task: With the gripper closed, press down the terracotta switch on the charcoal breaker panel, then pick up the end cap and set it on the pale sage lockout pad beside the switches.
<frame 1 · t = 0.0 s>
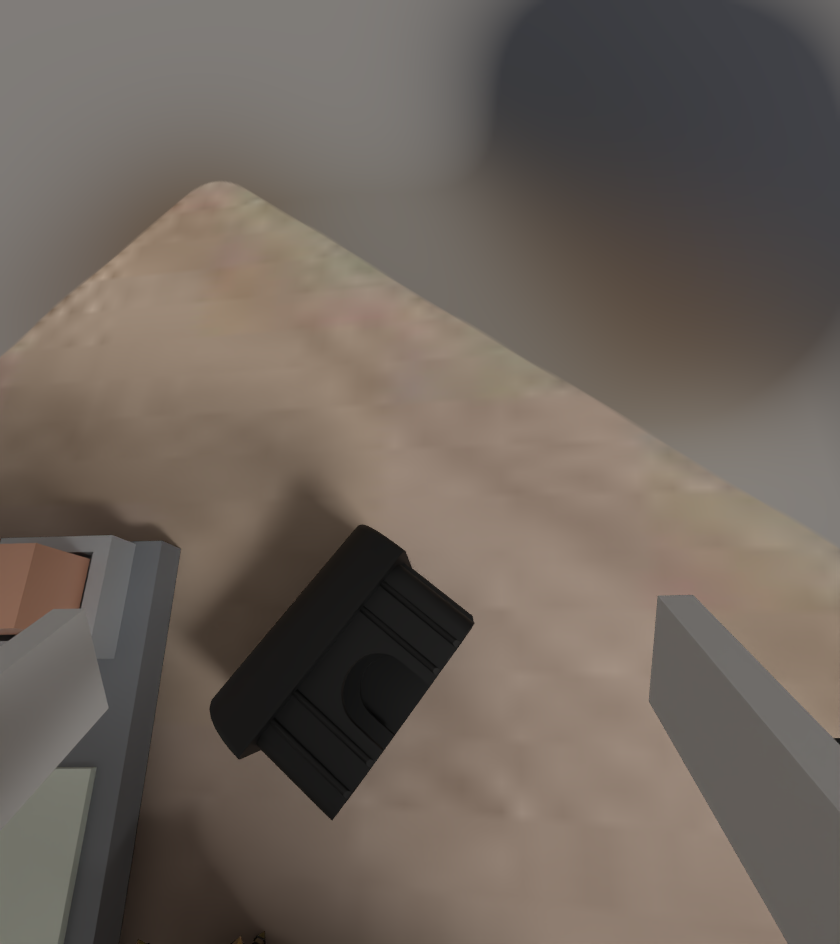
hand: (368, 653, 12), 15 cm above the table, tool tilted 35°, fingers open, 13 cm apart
end cap: (362, 659, 26), on the table
terracotta switch: (18, 591, 23), point 5 cm above the table, slide at 0.0 cm
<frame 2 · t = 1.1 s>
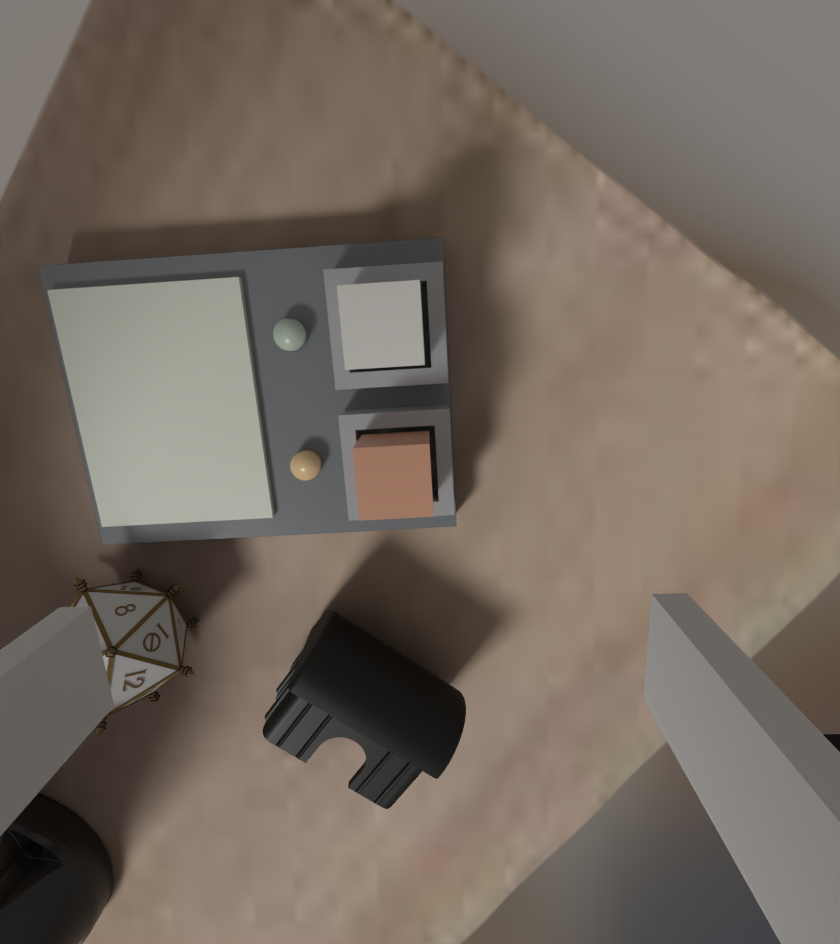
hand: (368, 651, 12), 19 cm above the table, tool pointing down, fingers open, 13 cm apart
breaker panel: (270, 399, 30), on the table
end cap: (373, 663, 35), on the table
game die: (156, 608, 34), on the table
terracotta switch: (395, 473, 25), point 5 cm above the table, slide at 0.0 cm
off-white switch: (384, 326, 23), point 5 cm above the table, slide at 0.0 cm
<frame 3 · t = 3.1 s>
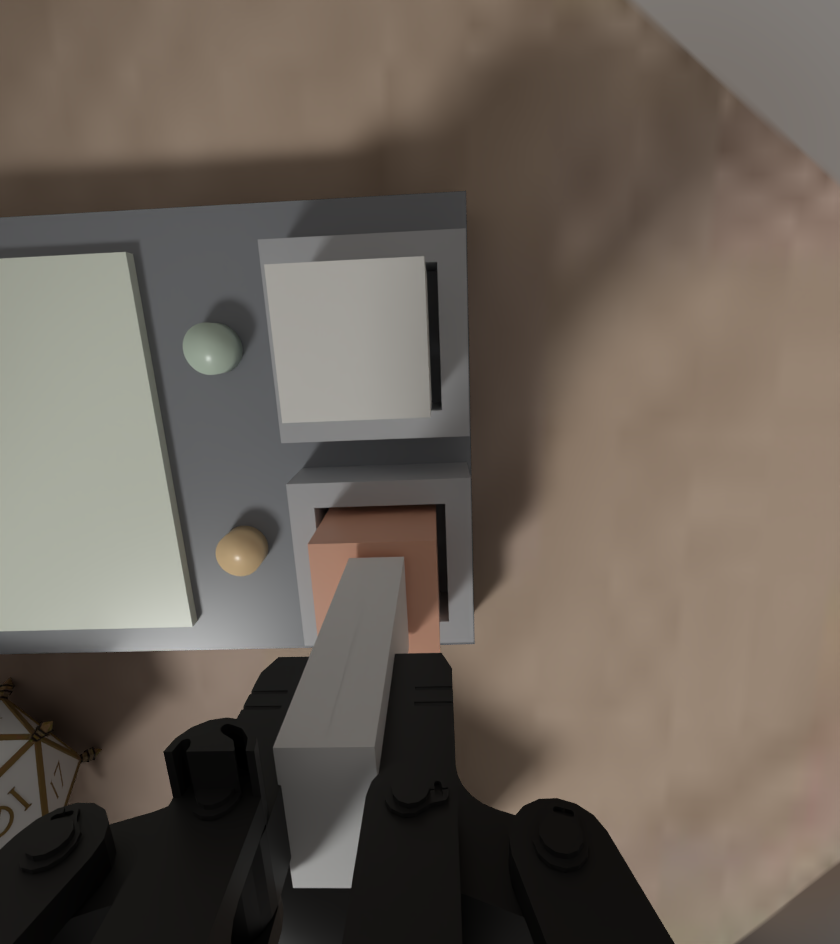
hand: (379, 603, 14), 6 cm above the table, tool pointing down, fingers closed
breaker panel: (194, 443, 20), on the table
end cap: (349, 810, 24), on the table
game die: (41, 729, 24), on the table
terracotta switch: (381, 572, 16), point 4 cm above the table, slide at 1.0 cm, touching gripper
off-white switch: (360, 342, 13), point 5 cm above the table, slide at 0.0 cm
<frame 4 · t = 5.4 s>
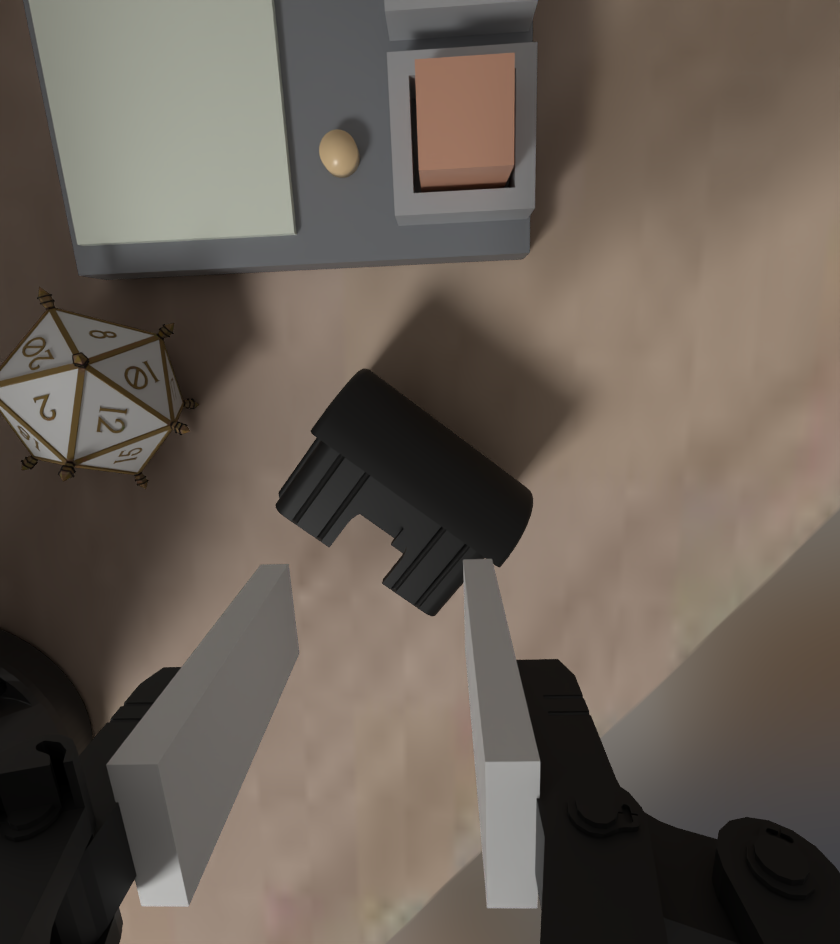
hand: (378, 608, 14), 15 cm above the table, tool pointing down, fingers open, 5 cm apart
breaker panel: (293, 89, 23), on the table
end cap: (410, 469, 28), on the table
game die: (147, 387, 27), on the table
terracotta switch: (463, 132, 20), point 4 cm above the table, slide at 1.4 cm
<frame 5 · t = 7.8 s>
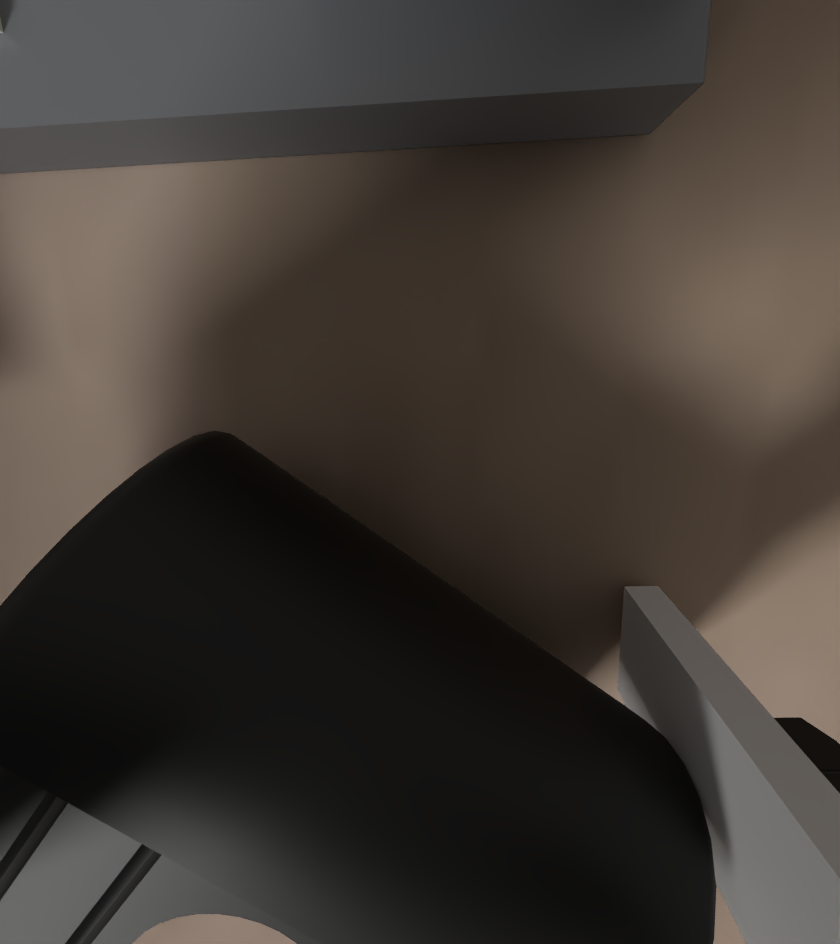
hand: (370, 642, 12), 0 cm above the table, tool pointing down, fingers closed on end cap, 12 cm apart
end cap: (369, 630, 13), on the table, touching gripper
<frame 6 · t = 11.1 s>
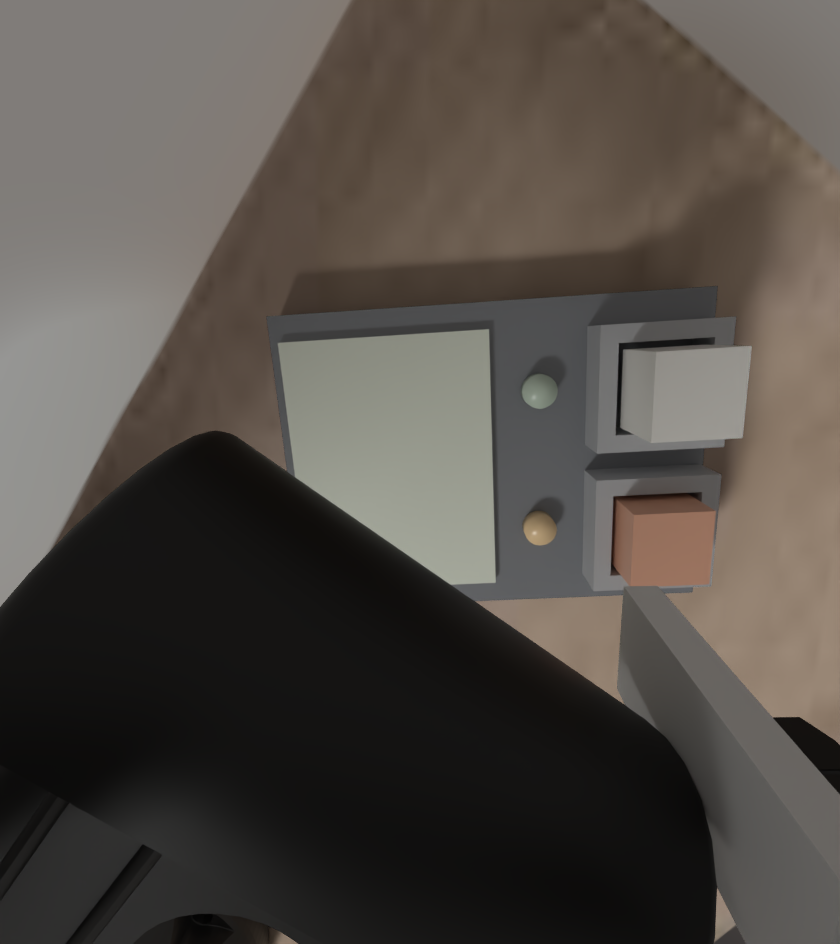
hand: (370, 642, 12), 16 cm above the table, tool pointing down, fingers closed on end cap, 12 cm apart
breaker panel: (487, 453, 28), on the table
end cap: (369, 630, 13), point 16 cm above the table, touching gripper
terracotta switch: (655, 535, 24), point 4 cm above the table, slide at 1.4 cm
off-white switch: (679, 391, 21), point 5 cm above the table, slide at 0.0 cm
when the fingers open (4 cm above the table, at t = 14.2 s): end cap drops 1 cm, resting on breaker panel.
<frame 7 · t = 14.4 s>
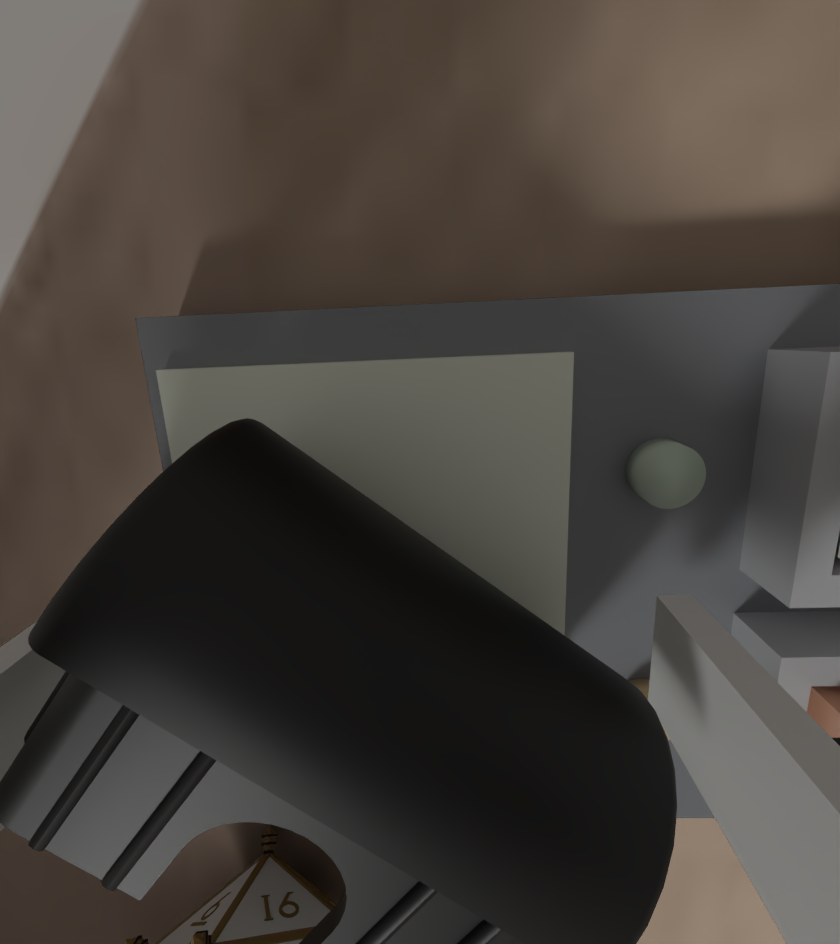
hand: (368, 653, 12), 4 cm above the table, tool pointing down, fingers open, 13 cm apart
breaker panel: (547, 563, 16), on the table
end cap: (377, 603, 14), point 2 cm above the table, touching breaker panel
game die: (294, 876, 20), on the table
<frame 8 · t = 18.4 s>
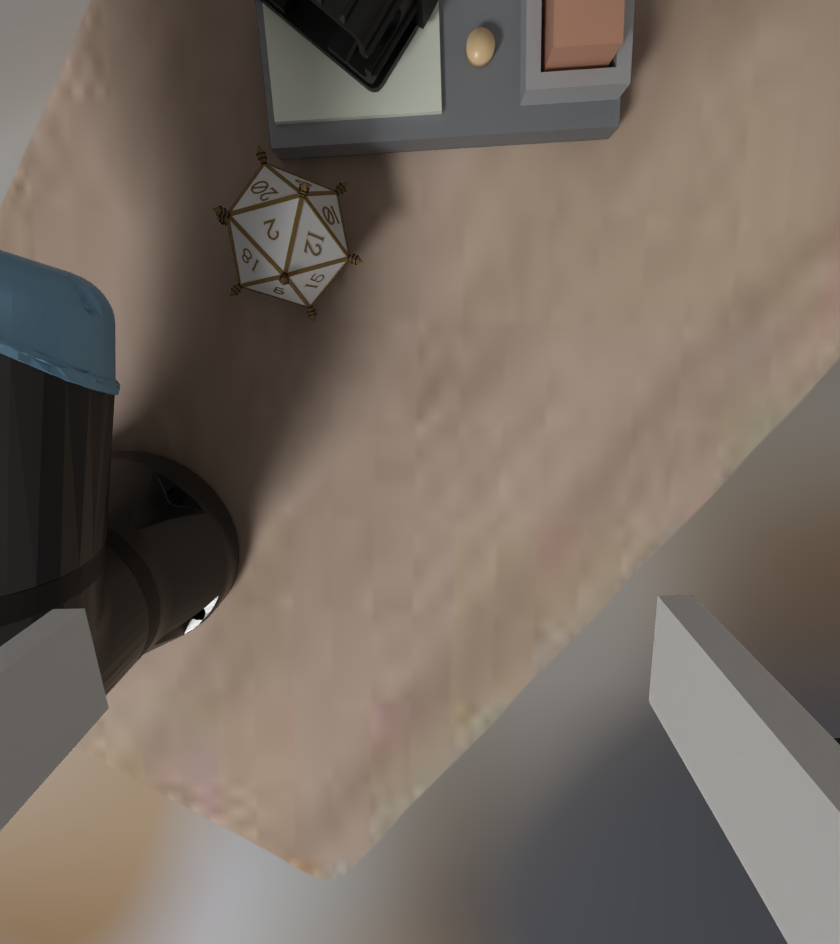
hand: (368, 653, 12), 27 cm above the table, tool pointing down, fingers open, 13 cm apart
breaker panel: (437, 3, 31), on the table
game die: (305, 250, 35), on the table
terracotta switch: (580, 24, 27), point 4 cm above the table, slide at 1.4 cm
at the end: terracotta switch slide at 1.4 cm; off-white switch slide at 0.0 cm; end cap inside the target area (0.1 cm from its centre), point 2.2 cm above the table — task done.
